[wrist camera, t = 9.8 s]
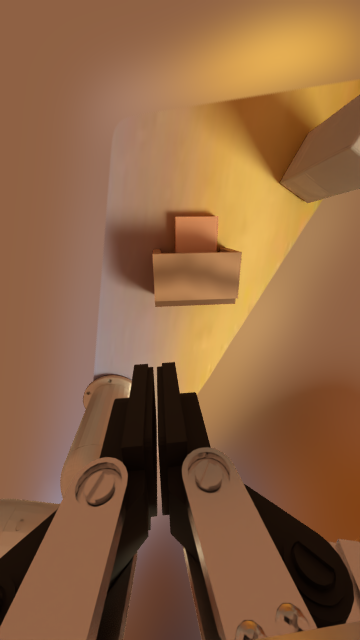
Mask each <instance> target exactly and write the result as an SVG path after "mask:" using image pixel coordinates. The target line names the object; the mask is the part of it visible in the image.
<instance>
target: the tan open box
mask: <svg viewBox="0 0 360 640" xmlns="http://www.w3.org/2000/svg"><path fill="white" fill-rule="evenodd" d="M241 254H242V252H239V251H235V250H232V249H228V248H220V252H200V253H161V251H160V249H153V254H152V256H153V274H154V293H155V307H162V306H187V305H213V304H235V298H238V288H239V277H240V265H241Z"/></svg>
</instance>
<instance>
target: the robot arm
mask: <svg viewBox="0 0 360 640" xmlns="http://www.w3.org/2000/svg"><path fill="white" fill-rule="evenodd" d="M157 396H158V448H159V465H160V481H161V497H162V513H163V515H169V514H170V530H171V534H172V535H173V536H174V537H175V538H176V539H177V540H178V541H179V542H180V543H181V544H182V545H183V549H184V556H185V561H186V566H187V571H188V575H189V580H190V585H191V590H192V594H193V599H194V604H195V609H196V613H197V618H198V623H199V628H200V632H201V637H202V640H360V542H356V541H350V540H343V539H338V541H337V543H333V542H327V541H326V540H325V539H324V538H323V537H321V536H320V535H319V534H318V533H316V532H315V531H313V530H312V529H310V528H309V527H307V526H306V525H304V524H303V523H301V522H300V521H298V520H297V519H295V518H294V517H292V516H291V515H290V514H288V513H287V512H285V511H283V510H282V509H281V508H279V507H278V506H276V505H275V504H273V503H272V502H270V501H269V500H267V499H266V498H264V497H263V496H261V495H260V494H258V493H257V492H255V491H254V490H253V489H251V488H250V487H248V486H247V485H245V484H243V482H242V480H241V478H240V476H239V474H238V472H237V470H236V468H235V466H234V464H233V463H232V461H231V460H230V458H229V457H228V456H227V455H225V454H224V453H223V452H221V451H219V450H217V449H214V448H211V447H210V444H209V440H208V436H207V432H206V428H205V425H204V421H203V417H202V413H201V410H200V406H199V402H198V398H197V395H196V393H195V392H194V393H181V394H180V392H179V386H178V380H177V373H176V367H175V362H171V363H162V367H157ZM83 403H84V406H85V408H86V411H85V413H84V416H83V418H82V421H81V423H80V426H79V428H78V431H77V433H76V436H75V438H74V441H73V443H72V446H71V448H70V451H69V453H68V456H67V458H66V461H65V463H64V466H63V469H62V473H61V480H60V481H61V482H60V483H61V493H62V496H63V500H62V502H61V504H54V503H45V502H37V501H28V500H18V499H0V640H123V638H124V632H125V626H126V620H127V614H128V609H129V603H130V597H131V591H132V585H133V578H134V573H135V567H136V561H137V550H138V549H139V548H140V546H141V545H142V544H143V543H144V541H145V540H146V539H147V537H148V530H150V526H151V525H150V524H151V517H154V516H157V424H156V406H155V390H154V374H153V367H148V364H140V365H134V371H133V377H132V381H131V380H130V379H128V378H125V377H122V376H116V375H108V376H103V377H100V378H98V379H96V380H94V381H93V382H92V383H90V384H89V386H88V387H87V389H86V391H85V393H84V396H83Z"/></svg>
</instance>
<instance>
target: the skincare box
mask: <svg viewBox="0 0 360 640" xmlns="http://www.w3.org/2000/svg"><path fill="white" fill-rule="evenodd" d="M280 184H282V185H283V186H285V187H286V188H287V189H289V190H290V191H292V192H293V193H294V194H296V195H297V196H299V197H300V198H301V199H303V200H304V201H305V202H307V203H310V202H314V201H317V200H321V199H324V198H328V197H331V196H335V195H338V194H342V193H345V192H349V191H353V190H356V189H360V95H359V96H357V97H356V98H355V99H353V100H352V101H351V102H349V103H348V104H347V105H345V106H344V107H343V108H341V109H340V110H339V111H337V112H336V113H335V114H333V115H332V116H331V117H329V118H328V119H327V120H325V121H324V122H323V123H321V124H320V125H319V126H317V127H316V128H315V129H313V130H312V131H310V132H309V133H308V135H307V137H306V138H305V140H304V142H303V143H302V145H301V147H300V149H299V150H298V152H297V154H296V155H295V157H294V159H293V161H292V162H291V164H290V166H289V168H288V169H287V171H286V173H285V174H284V176H283V178H282V180H281V181H280Z"/></svg>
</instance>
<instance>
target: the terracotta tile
mask: <svg viewBox="0 0 360 640" xmlns="http://www.w3.org/2000/svg"><path fill="white" fill-rule="evenodd" d="M217 234H218V216H213V217H175V253H200V252H217Z"/></svg>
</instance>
